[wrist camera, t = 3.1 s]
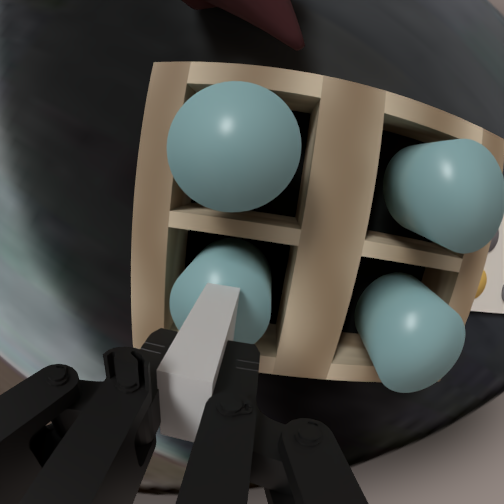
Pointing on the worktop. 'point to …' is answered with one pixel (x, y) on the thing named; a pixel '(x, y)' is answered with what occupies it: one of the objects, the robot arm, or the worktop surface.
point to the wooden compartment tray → (307, 214)
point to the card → (492, 277)
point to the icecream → (261, 16)
